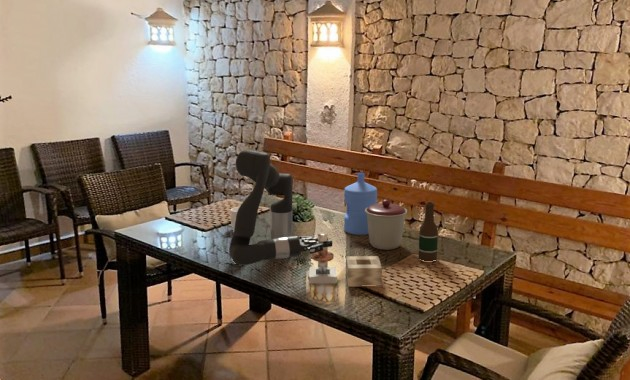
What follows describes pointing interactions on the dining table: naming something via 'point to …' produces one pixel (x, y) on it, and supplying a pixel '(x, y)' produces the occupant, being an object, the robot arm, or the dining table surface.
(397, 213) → the canister
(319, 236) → the pin
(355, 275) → the block
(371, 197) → the water jug
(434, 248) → the beer bottle
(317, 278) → the pin stand
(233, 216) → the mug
